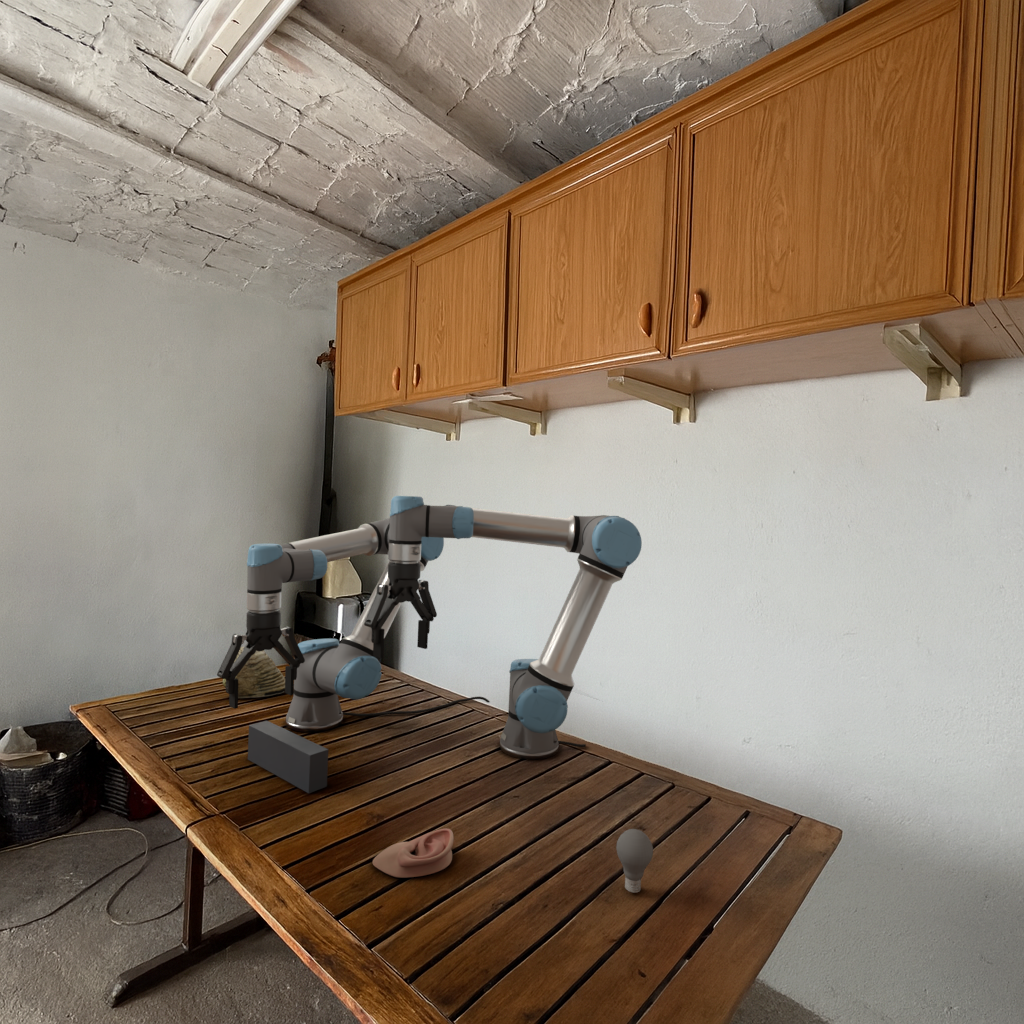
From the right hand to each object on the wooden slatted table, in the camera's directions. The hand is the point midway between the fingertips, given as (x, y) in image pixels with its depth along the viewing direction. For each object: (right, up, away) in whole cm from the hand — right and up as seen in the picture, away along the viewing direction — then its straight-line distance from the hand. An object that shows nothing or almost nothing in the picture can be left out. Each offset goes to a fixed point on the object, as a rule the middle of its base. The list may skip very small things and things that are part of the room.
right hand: (400, 652), depth 148 cm
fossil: (-55, -24, +50) cm, 78 cm away
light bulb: (+46, -31, -42) cm, 70 cm away
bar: (-26, -27, -3) cm, 37 cm away
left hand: (-33, -11, 0) cm, 34 cm away
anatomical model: (+9, -29, -36) cm, 47 cm away
